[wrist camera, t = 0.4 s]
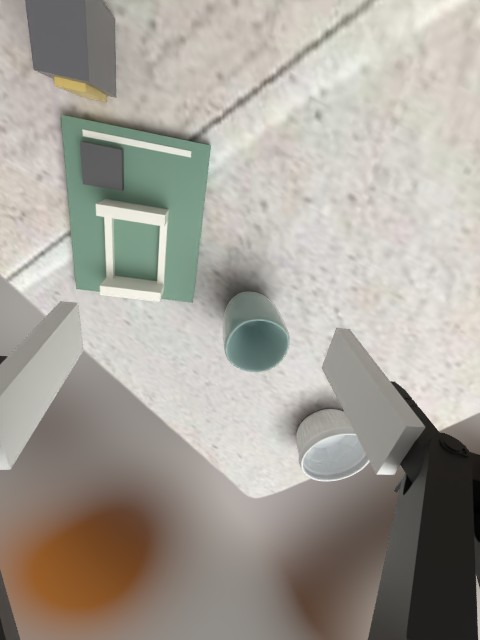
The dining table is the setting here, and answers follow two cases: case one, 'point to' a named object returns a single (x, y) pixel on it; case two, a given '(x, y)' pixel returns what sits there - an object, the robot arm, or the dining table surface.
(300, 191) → the dining table surface
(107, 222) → the board
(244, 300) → the cup
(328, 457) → the ramekin
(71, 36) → the plug
